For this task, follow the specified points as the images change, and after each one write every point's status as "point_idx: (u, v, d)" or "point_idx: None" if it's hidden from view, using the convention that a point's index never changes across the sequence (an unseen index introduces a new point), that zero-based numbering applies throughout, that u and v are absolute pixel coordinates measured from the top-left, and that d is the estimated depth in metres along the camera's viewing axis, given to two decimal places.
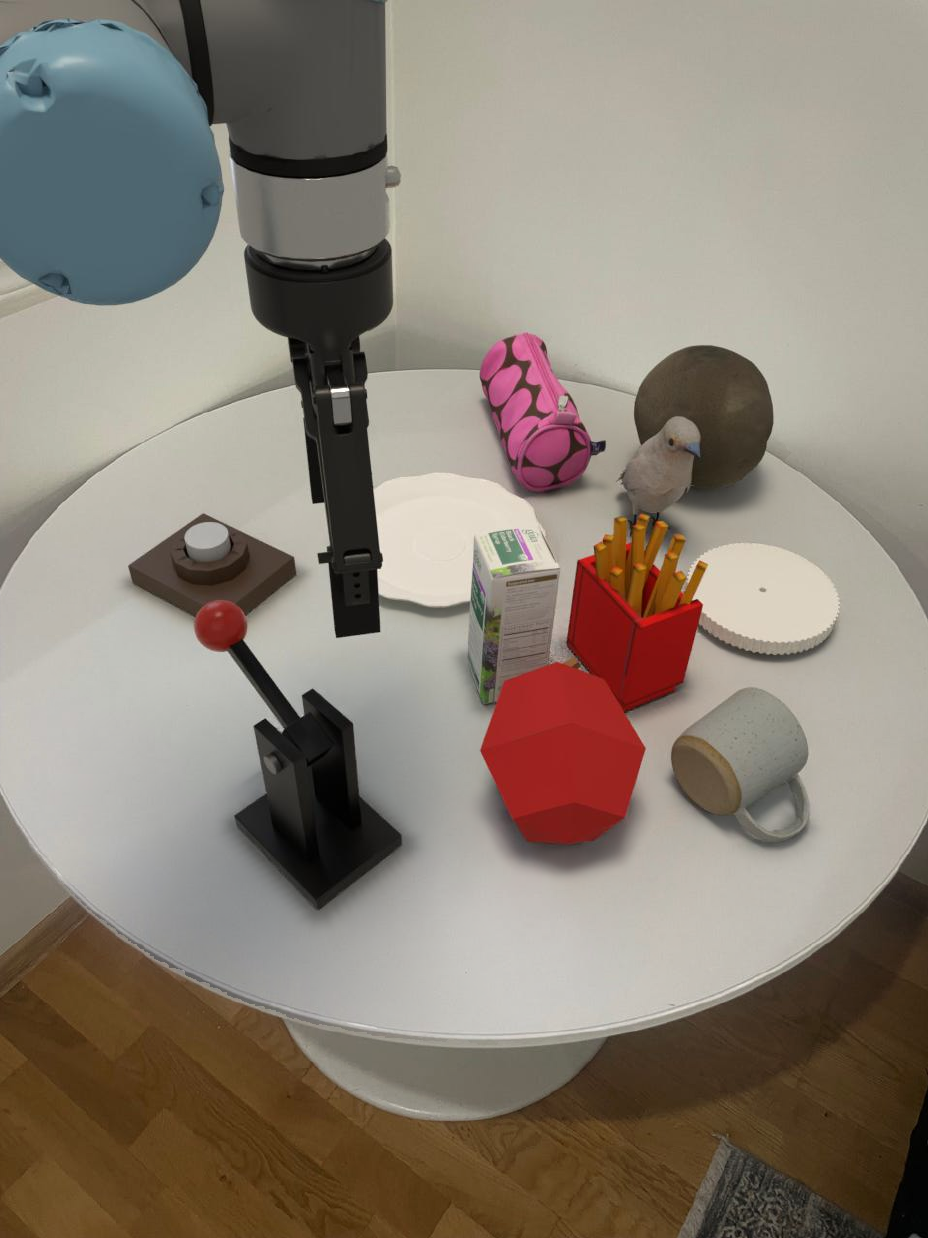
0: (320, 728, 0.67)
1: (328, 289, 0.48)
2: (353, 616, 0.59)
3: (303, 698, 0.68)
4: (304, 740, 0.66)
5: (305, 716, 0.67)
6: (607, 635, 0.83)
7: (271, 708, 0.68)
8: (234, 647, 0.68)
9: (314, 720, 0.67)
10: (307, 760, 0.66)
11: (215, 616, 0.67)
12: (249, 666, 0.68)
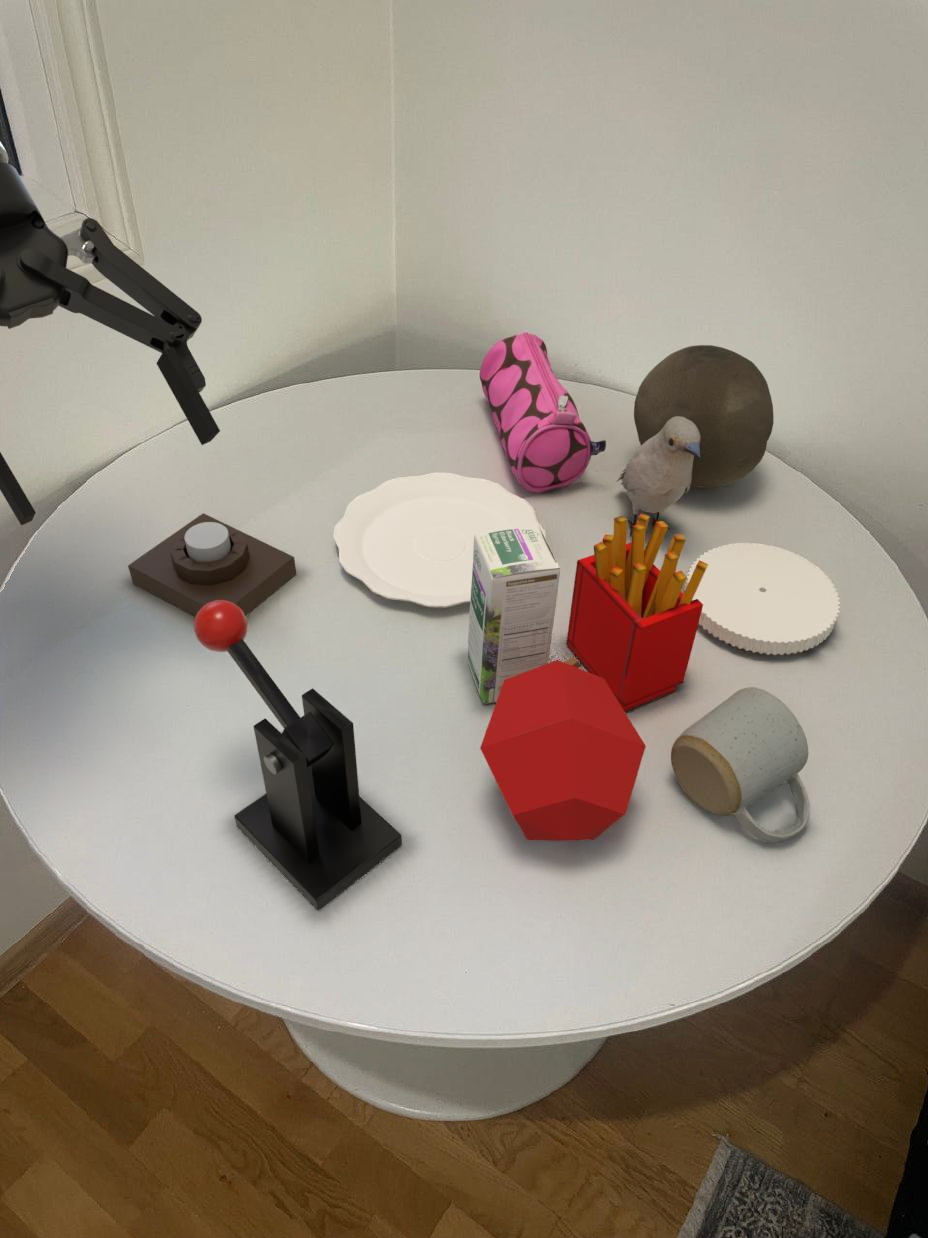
0: (320, 728, 0.67)
1: None
2: None
3: (303, 698, 0.68)
4: (304, 740, 0.66)
5: (305, 716, 0.67)
6: (607, 635, 0.83)
7: (271, 708, 0.68)
8: (234, 647, 0.68)
9: (314, 720, 0.67)
10: (307, 760, 0.66)
11: (215, 616, 0.67)
12: (249, 666, 0.68)
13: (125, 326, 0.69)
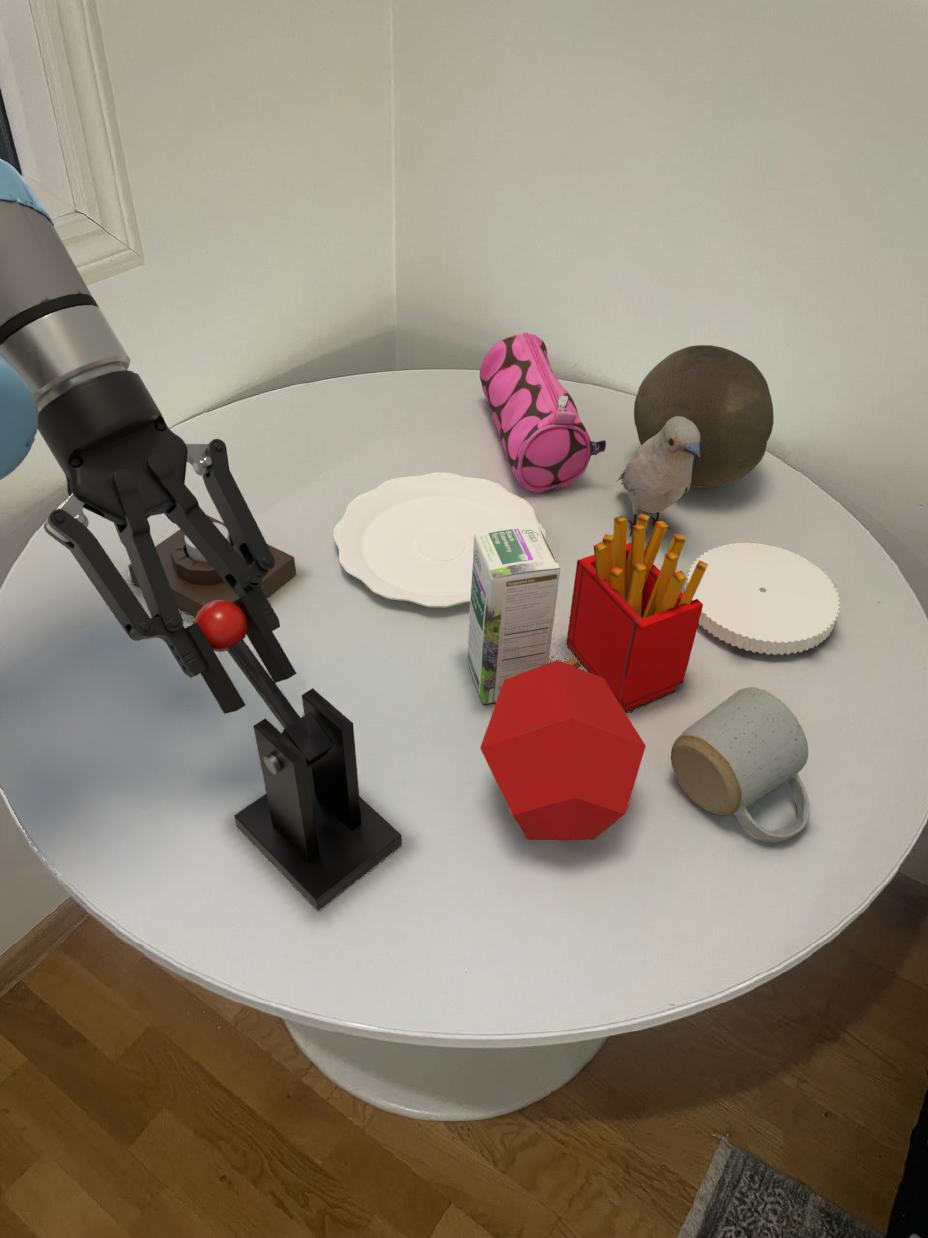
0: (320, 728, 0.67)
1: None
2: None
3: (303, 698, 0.68)
4: (304, 740, 0.66)
5: (305, 716, 0.67)
6: (607, 635, 0.83)
7: (271, 708, 0.68)
8: (234, 647, 0.68)
9: (314, 720, 0.67)
10: (307, 760, 0.66)
11: (215, 616, 0.67)
12: (249, 666, 0.68)
13: (209, 553, 0.69)
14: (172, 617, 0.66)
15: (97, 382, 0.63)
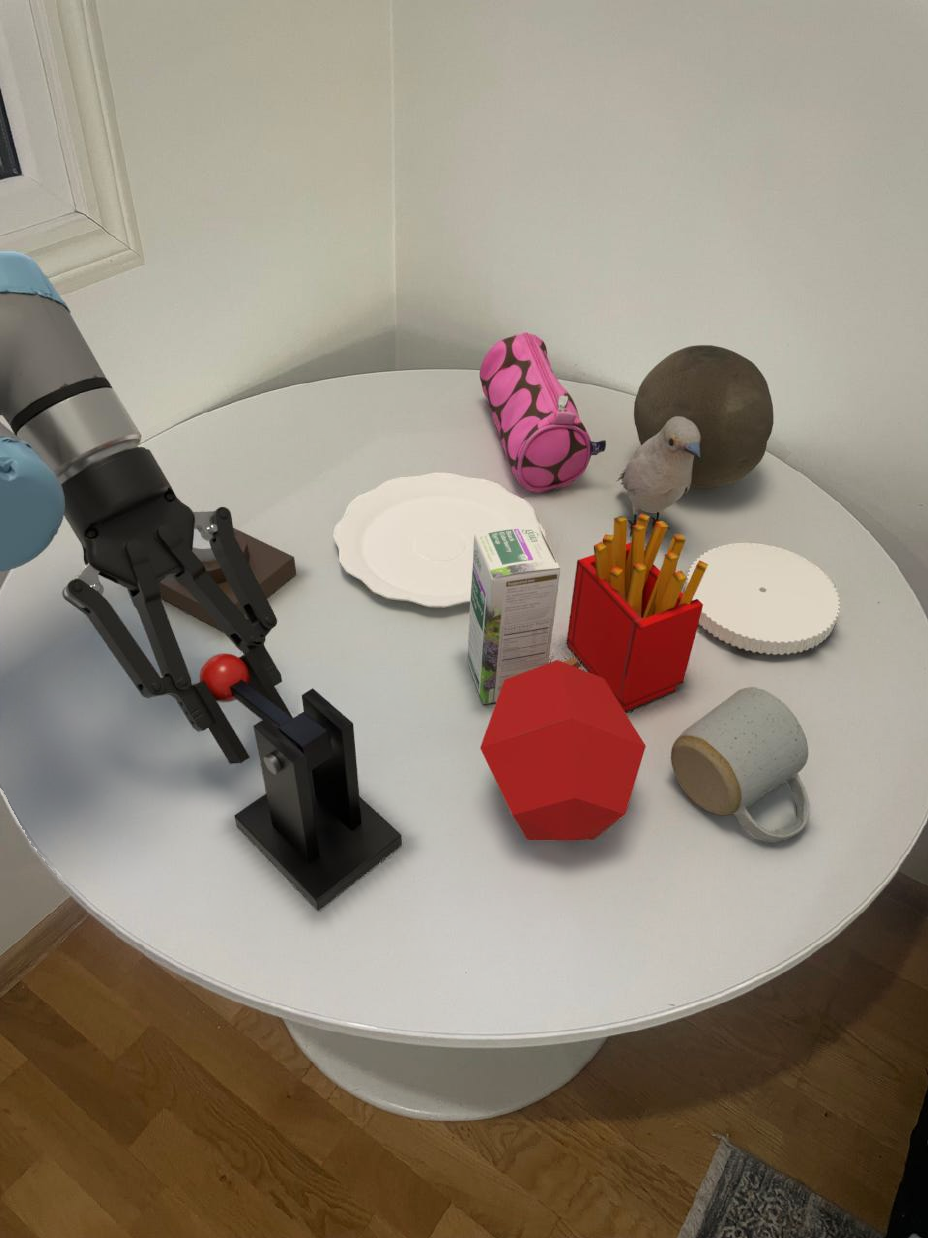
0: (313, 721, 0.67)
1: None
2: None
3: (303, 698, 0.68)
4: (297, 732, 0.66)
5: (298, 715, 0.68)
6: (607, 635, 0.83)
7: None
8: (234, 686, 0.72)
9: (307, 716, 0.68)
10: (301, 747, 0.65)
11: (211, 662, 0.72)
12: (248, 696, 0.71)
13: (216, 614, 0.74)
14: (181, 676, 0.71)
15: (111, 461, 0.68)
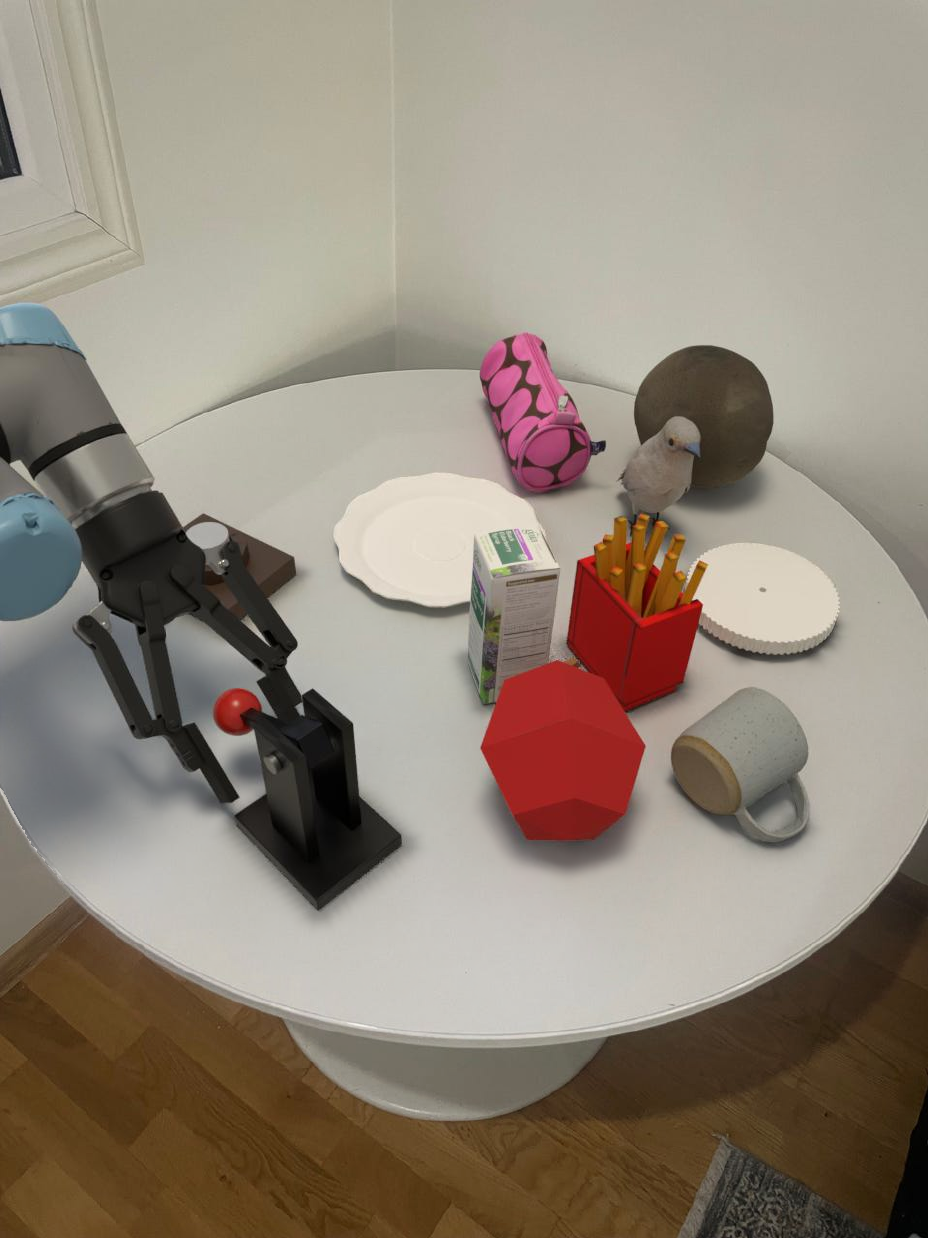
0: (310, 719, 0.67)
1: None
2: None
3: (303, 698, 0.68)
4: (294, 730, 0.67)
5: (296, 718, 0.68)
6: (607, 635, 0.83)
7: None
8: (243, 713, 0.73)
9: (305, 717, 0.68)
10: (296, 740, 0.65)
11: (221, 695, 0.74)
12: (255, 717, 0.72)
13: (236, 642, 0.77)
14: (173, 719, 0.72)
15: (126, 505, 0.70)
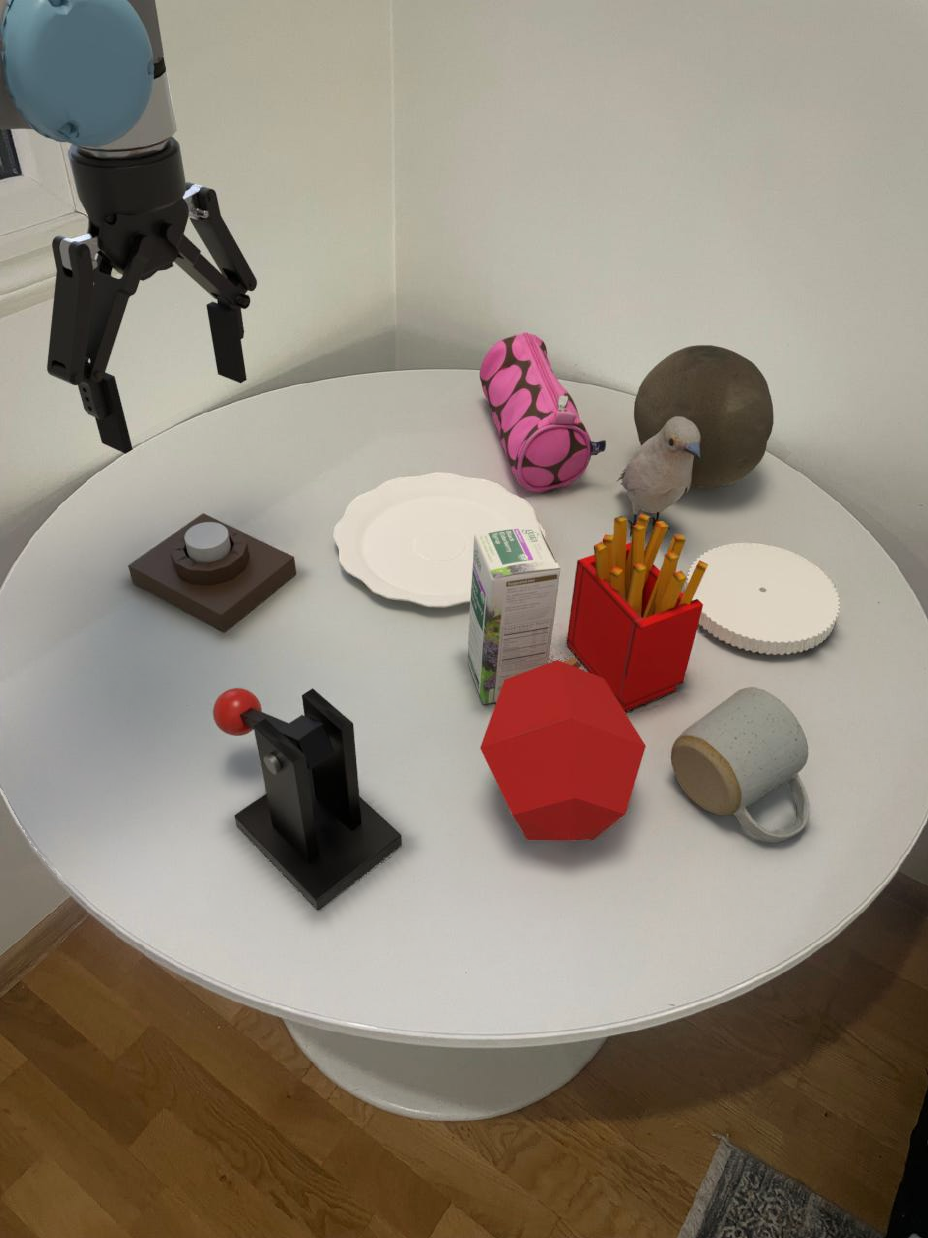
0: (310, 719, 0.67)
1: None
2: None
3: (303, 698, 0.68)
4: (294, 730, 0.67)
5: (296, 718, 0.68)
6: (607, 635, 0.83)
7: None
8: (243, 713, 0.73)
9: (305, 717, 0.68)
10: (296, 740, 0.65)
11: (221, 695, 0.74)
12: (255, 717, 0.72)
13: (204, 282, 0.80)
14: (99, 370, 0.73)
15: (160, 161, 0.67)
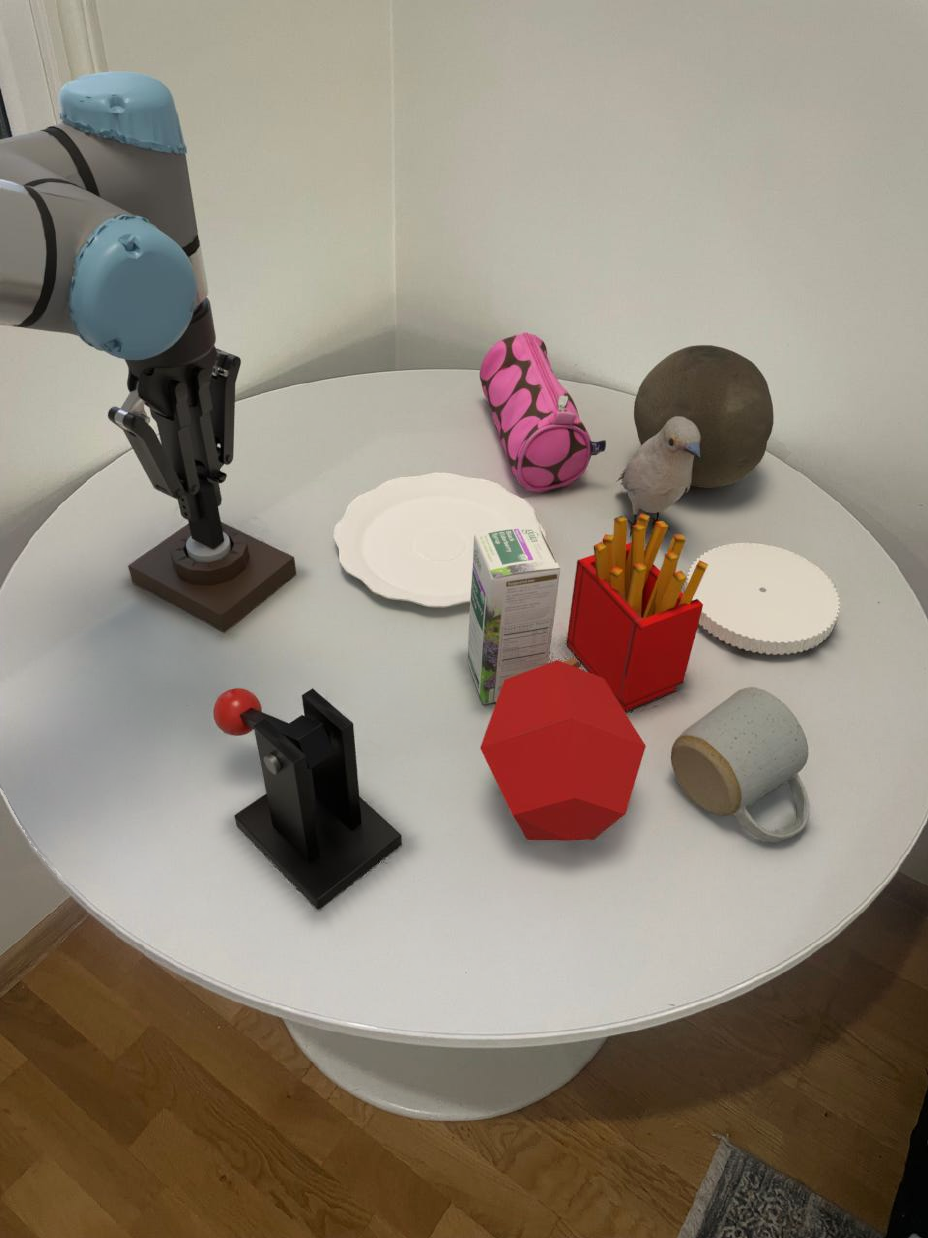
0: (310, 719, 0.67)
1: None
2: None
3: (303, 698, 0.68)
4: (294, 730, 0.67)
5: (296, 718, 0.68)
6: (607, 635, 0.83)
7: None
8: (243, 713, 0.73)
9: (305, 717, 0.68)
10: (296, 740, 0.65)
11: (221, 695, 0.74)
12: (255, 717, 0.72)
13: (196, 443, 0.86)
14: (194, 485, 0.86)
15: (194, 322, 0.75)
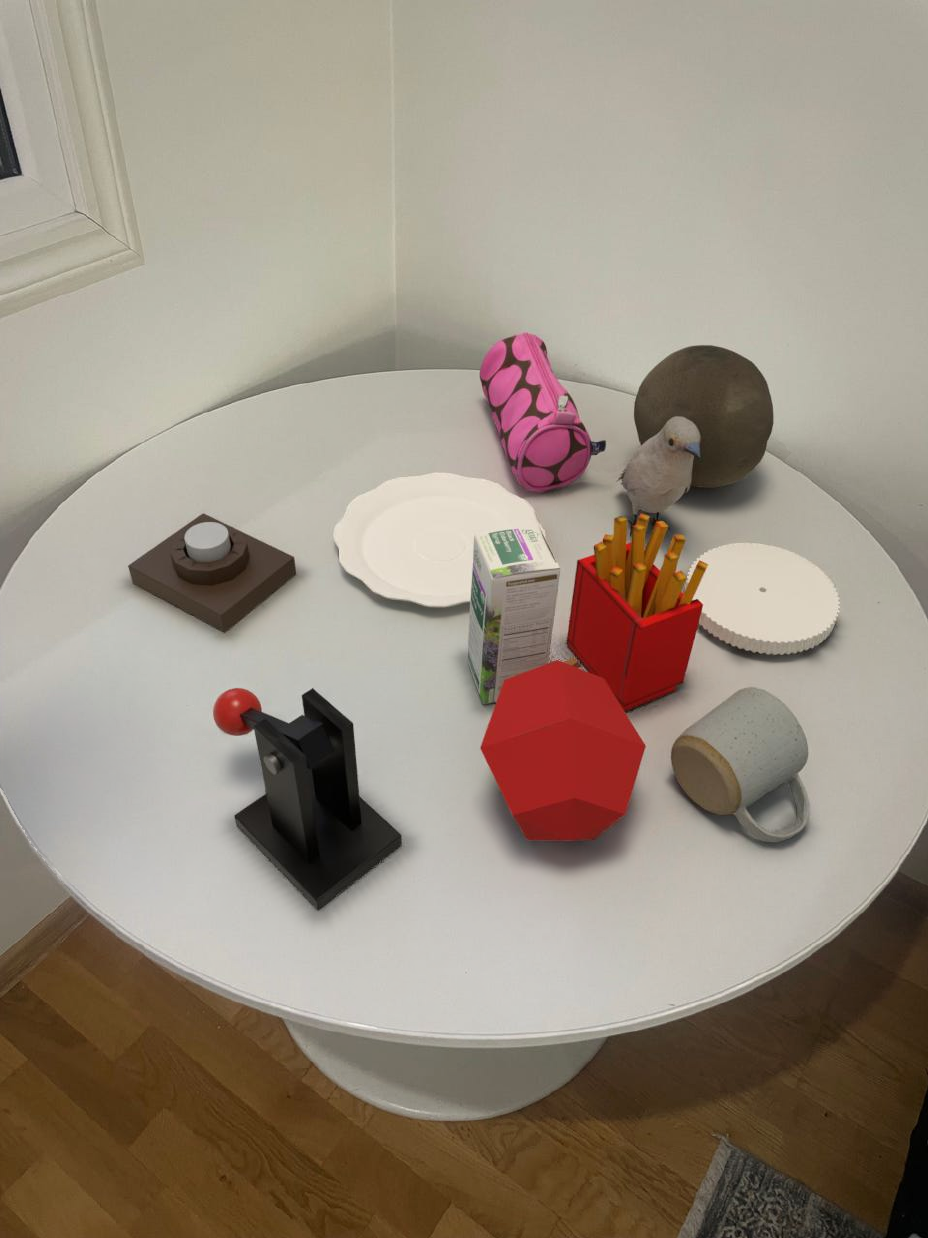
0: (310, 719, 0.67)
1: None
2: None
3: (303, 698, 0.68)
4: (294, 730, 0.67)
5: (296, 718, 0.68)
6: (607, 635, 0.83)
7: None
8: (243, 713, 0.73)
9: (305, 717, 0.68)
10: (296, 740, 0.65)
11: (221, 695, 0.74)
12: (255, 717, 0.72)
13: None
14: None
15: None
